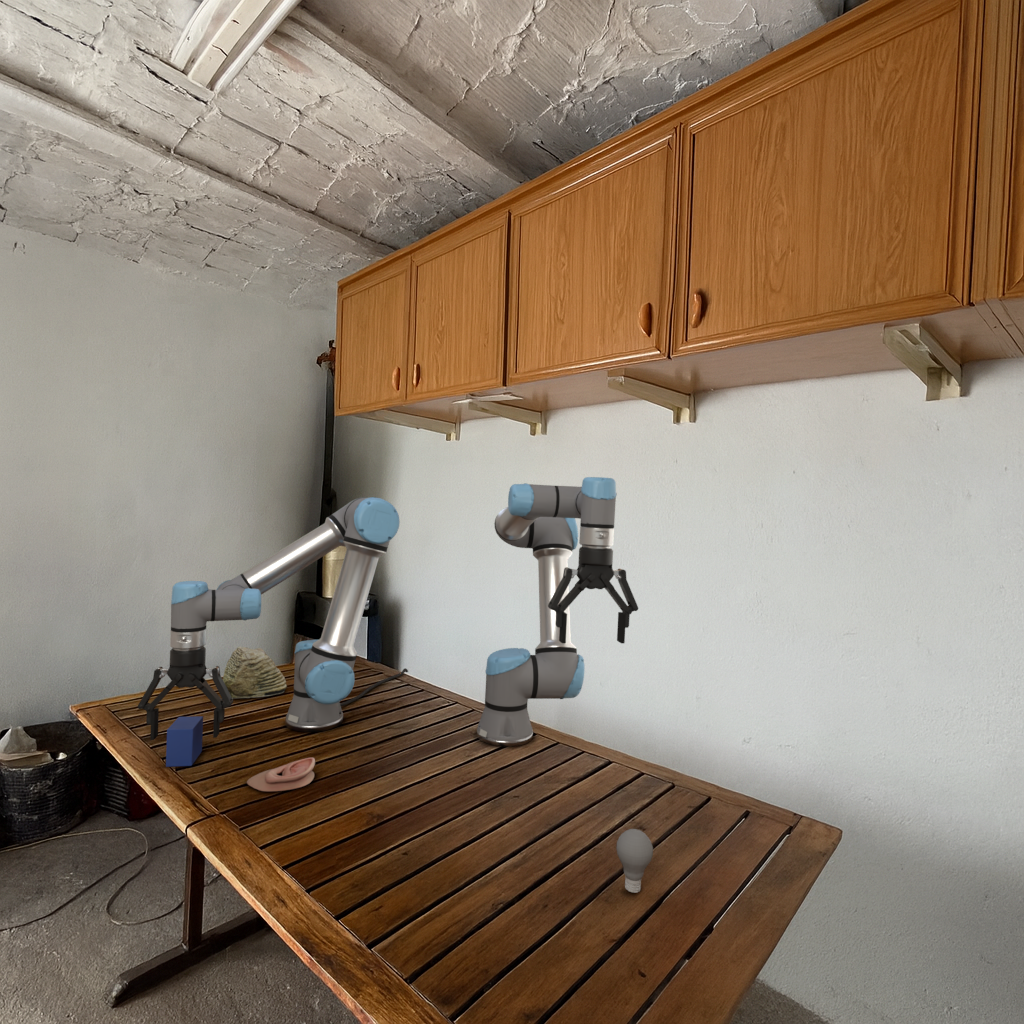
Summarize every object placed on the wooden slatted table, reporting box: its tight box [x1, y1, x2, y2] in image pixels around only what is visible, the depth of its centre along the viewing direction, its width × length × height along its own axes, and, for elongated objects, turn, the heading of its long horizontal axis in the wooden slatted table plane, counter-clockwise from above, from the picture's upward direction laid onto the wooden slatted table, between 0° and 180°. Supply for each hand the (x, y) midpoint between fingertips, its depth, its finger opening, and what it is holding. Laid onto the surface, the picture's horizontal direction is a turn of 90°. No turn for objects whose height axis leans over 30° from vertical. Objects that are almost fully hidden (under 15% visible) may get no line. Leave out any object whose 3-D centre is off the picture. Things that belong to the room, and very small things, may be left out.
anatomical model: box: [246, 757, 316, 792], centre depth 140 cm, size 13×4×12 cm
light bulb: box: [615, 828, 654, 894], centre depth 106 cm, size 6×6×10 cm
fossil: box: [222, 646, 288, 699], centre depth 198 cm, size 9×18×15 cm, turn 132°
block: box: [165, 715, 204, 768], centre depth 149 cm, size 8×6×9 cm, turn 12°
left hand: (185, 736), depth 150 cm, fingers open, 13 cm apart
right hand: (591, 642), depth 141 cm, fingers open, 13 cm apart
